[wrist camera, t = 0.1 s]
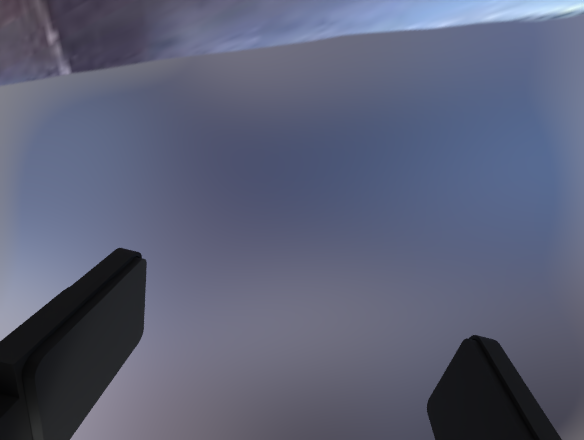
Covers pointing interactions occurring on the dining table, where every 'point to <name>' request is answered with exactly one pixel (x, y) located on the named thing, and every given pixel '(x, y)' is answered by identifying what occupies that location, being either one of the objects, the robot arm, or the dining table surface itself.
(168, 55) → the dining table surface
